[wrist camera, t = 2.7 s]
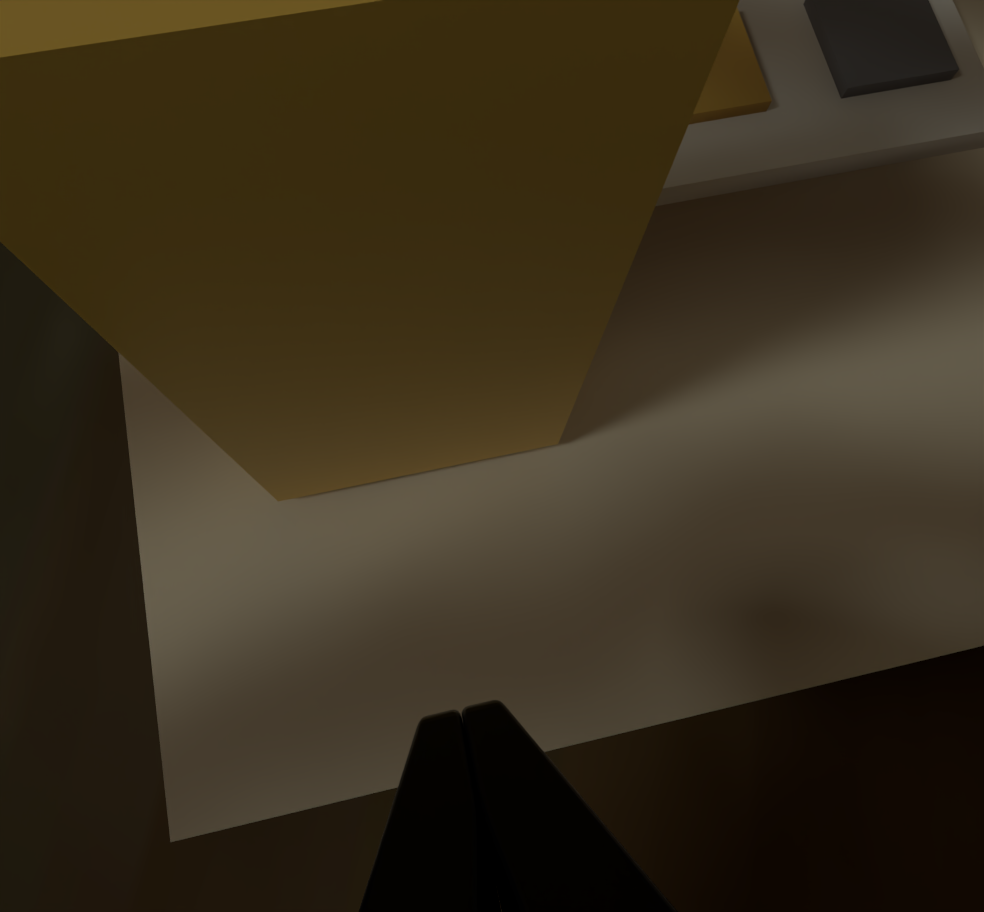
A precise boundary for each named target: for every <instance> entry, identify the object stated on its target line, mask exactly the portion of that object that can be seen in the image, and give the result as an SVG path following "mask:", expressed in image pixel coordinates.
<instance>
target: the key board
mask: <svg viewBox="0 0 984 912" xmlns="http://www.w3.org/2000/svg"><path fill="white" fill-rule="evenodd" d="M119 361H120V371H121V380H122V389H123V399H124V408H125V418H126V427H127V437H128V446H129V455H130V465H131V474H132V484H133V493H134V503H135V512H136V521H137V531H138V540H139V550H140V559H141V568H142V578H143V587H144V597H145V606H146V616H147V625H148V634H149V644H150V653H151V663H152V672H153V681H154V691H155V700H156V710H157V719H158V729H159V738H160V747H161V757H162V766H163V776H164V785H165V794H166V804H167V813H168V823H169V832H170V842H173V841H177V840H181V839H186V838H190V837H194V836H198V835H202V834H206V833H210V832H214V831H219V830H223V829H227V828H231V827H235V826H239V825H243V824H248V823H252V822H256V821H260V820H264V819H268V818H272V817H277V816H281V815H285V814H289V813H293V812H297V811H301V810H306V809H310V808H314V807H318V806H322V805H326V804H330V803H335V802H339V801H343V800H347V799H351V798H355V797H359V796H363V795H368V794H372V793H376V792H380V791H384V790H388V789H392V788H397V787H398V785H399V782H400V779H401V775H402V772H403V769H404V766H405V763H406V759H407V756H408V753H409V750H410V747H411V744H412V740H413V737H414V734H415V731H416V728H417V725H418V723H419V721H420V720H421V718H423V717H424V716H427V715H431V714H436V713H440V712H444V711H448V710H457V711H459V713H460V714H461V717H462V710H463V709H464V708H465V707H466V706H469V705H474V704H478V703H482V702H486V701H490V700H499V701H501V702H502V703H503V704H504V705H505V706H506V707H507V708H508V709H509V710H510V712H511V713H512V714H513V715H514V716H515V718H516V719H517V720H518V721H519V722H520V724H521V725H522V726H523V727H524V728H525V730H526V731H527V732H528V733H529V734H530V736H531V737H532V738H533V739H534V740H535V742H536V743H537V744H538V745H539V746H540V748H541V749H542V750H543V751H544V752H546V751H550V750H554V749H558V748H562V747H566V746H570V745H575V744H579V743H583V742H587V741H591V740H595V739H599V738H604V737H608V736H612V735H616V734H620V733H624V732H628V731H633V730H637V729H641V728H645V727H649V726H653V725H657V724H661V723H666V722H670V721H674V720H678V719H682V718H686V717H690V716H695V715H699V714H703V713H707V712H711V711H715V710H719V709H724V708H728V707H732V706H736V705H740V704H744V703H748V702H753V701H757V700H761V699H765V698H769V697H773V696H777V695H781V694H786V693H790V692H794V691H798V690H802V689H806V688H810V687H815V686H819V685H823V684H827V683H831V682H835V681H839V680H844V679H848V678H852V677H856V676H860V675H864V674H868V673H873V672H877V671H881V670H885V669H889V668H893V667H897V666H902V665H906V664H910V663H914V662H918V661H922V660H926V659H930V658H935V657H939V656H943V655H947V654H951V653H955V652H959V651H964V650H968V649H972V648H976V647H980V646H984V0H739V3H738V5H737V8H736V10H735V13H734V15H733V17H732V20H731V22H730V25H729V27H728V30H727V32H726V35H725V37H724V39H723V42H722V44H721V47H720V49H719V52H718V54H717V57H716V59H715V61H714V64H713V66H712V69H711V71H710V74H709V76H708V79H707V81H706V83H705V86H704V88H703V91H702V93H701V96H700V98H699V101H698V103H697V105H696V108H695V110H694V113H693V115H692V118H691V120H690V123H689V125H688V127H687V130H686V132H685V135H684V137H683V140H682V142H681V145H680V147H679V149H678V152H677V154H676V157H675V159H674V162H673V164H672V167H671V169H670V172H669V174H668V176H667V179H666V181H665V184H664V186H663V189H662V191H661V194H660V196H659V198H658V201H657V203H656V206H655V208H654V211H653V213H652V216H651V218H650V220H649V223H648V225H647V228H646V230H645V233H644V235H643V238H642V240H641V242H640V245H639V247H638V250H637V252H636V255H635V257H634V260H633V262H632V264H631V267H630V269H629V272H628V274H627V277H626V279H625V282H624V284H623V286H622V289H621V291H620V294H619V296H618V299H617V301H616V304H615V306H614V308H613V311H612V313H611V316H610V318H609V321H608V323H607V326H606V328H605V330H604V333H603V335H602V338H601V340H600V343H599V345H598V348H597V350H596V352H595V355H594V357H593V360H592V362H591V365H590V367H589V370H588V372H587V375H586V377H585V379H584V382H583V384H582V387H581V389H580V392H579V394H578V397H577V399H576V401H575V404H574V406H573V409H572V411H571V414H570V416H569V419H568V421H567V423H566V426H565V428H564V431H563V433H562V436H561V438H560V441H559V443H558V444H556V445H551V446H546V447H541V448H536V449H532V450H527V451H522V452H517V453H512V454H507V455H502V456H498V457H493V458H488V459H483V460H478V461H473V462H468V463H463V464H459V465H454V466H449V467H444V468H439V469H434V470H429V471H424V472H420V473H415V474H410V475H405V476H400V477H395V478H390V479H386V480H381V481H376V482H371V483H366V484H361V485H356V486H351V487H347V488H342V489H337V490H332V491H327V492H322V493H317V494H312V495H308V496H303V497H298V498H293V499H288V500H283V501H277V500H276V499H275V498H274V497H273V496H272V495H270V494H269V493H268V492H267V491H266V490H265V489H264V488H263V487H262V486H261V485H260V484H259V483H258V482H257V481H256V480H254V479H253V478H252V477H251V476H250V475H249V474H248V473H247V472H246V471H245V470H244V469H243V468H242V467H241V466H240V465H238V464H237V463H236V462H235V461H234V460H233V459H232V458H231V457H230V456H229V455H228V454H227V453H226V452H225V451H224V450H222V449H221V448H220V447H219V446H218V445H217V444H216V443H215V442H214V441H213V440H212V439H211V438H210V437H209V436H207V435H206V434H205V433H204V432H203V431H202V430H201V429H200V428H199V427H198V426H197V425H196V424H195V423H194V422H193V421H191V420H190V419H189V418H188V417H187V416H186V415H185V414H184V413H183V412H182V411H181V410H180V409H179V408H178V407H177V406H175V405H174V404H173V403H172V402H171V401H170V400H169V399H168V398H167V397H166V396H165V395H164V394H163V393H162V392H161V391H159V390H158V389H157V388H156V387H155V386H154V385H153V384H152V383H151V382H150V381H149V380H148V379H147V378H146V377H144V376H143V375H142V374H141V373H140V372H139V371H138V370H137V369H136V368H135V367H134V366H133V365H132V364H131V363H130V362H128V361H127V360H126V359H125V358H124V357H123V356H122V355H121V354H120V353H119ZM462 721H463V720H462Z"/></svg>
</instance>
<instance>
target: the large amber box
mask: <svg viewBox="0 0 984 912" xmlns="http://www.w3.org/2000/svg"><path fill="white" fill-rule="evenodd" d="M738 3H739V0H0V242H1V243H2V244H4V245H5V246H6V247H7V248H8V249H9V250H10V251H11V252H12V253H13V254H14V255H15V256H16V257H17V258H18V259H20V260H21V261H22V262H23V263H24V264H25V265H26V266H27V267H28V268H29V269H30V270H31V271H32V272H33V273H34V274H36V275H37V276H38V277H39V278H40V279H41V280H42V281H43V282H44V283H45V284H46V285H47V286H48V287H49V288H51V289H52V290H53V291H54V292H55V293H56V294H57V295H58V296H59V297H60V298H61V299H62V300H63V301H64V302H65V303H67V304H68V305H69V306H70V307H71V308H72V309H73V310H74V311H75V312H76V313H77V314H78V315H79V316H80V317H81V318H83V319H84V320H85V321H86V322H87V323H88V324H89V325H90V326H91V327H92V328H93V329H94V330H95V331H96V332H97V333H99V334H100V335H101V336H102V337H103V338H104V339H105V340H106V341H107V342H108V343H109V344H110V345H111V346H112V347H114V348H115V349H116V350H117V351H118V352H119V353H120V354H121V355H122V356H123V357H124V358H125V359H126V360H127V361H128V362H130V363H131V364H132V365H133V366H134V367H135V368H136V369H137V370H138V371H139V372H140V373H141V374H142V375H143V376H144V377H146V378H147V379H148V380H149V381H150V382H151V383H152V384H153V385H154V386H155V387H156V388H157V389H158V390H159V391H161V392H162V393H163V394H164V395H165V396H166V397H167V398H168V399H169V400H170V401H171V402H172V403H173V404H174V405H175V406H177V407H178V408H179V409H180V410H181V411H182V412H183V413H184V414H185V415H186V416H187V417H188V418H189V419H190V420H191V421H193V422H194V423H195V424H196V425H197V426H198V427H199V428H200V429H201V430H202V431H203V432H204V433H205V434H206V435H207V436H209V437H210V438H211V439H212V440H213V441H214V442H215V443H216V444H217V445H218V446H219V447H220V448H221V449H222V450H224V451H225V452H226V453H227V454H228V455H229V456H230V457H231V458H232V459H233V460H234V461H235V462H236V463H237V464H238V465H240V466H241V467H242V468H243V469H244V470H245V471H246V472H247V473H248V474H249V475H250V476H251V477H252V478H253V479H254V480H256V481H257V482H258V483H259V484H260V485H261V486H262V487H263V488H264V489H265V490H266V491H267V492H268V493H269V494H270V495H272V496H273V497H274V498H275V499H276V500H277V501H283V500H288V499H293V498H298V497H303V496H308V495H312V494H317V493H322V492H327V491H332V490H337V489H342V488H347V487H351V486H356V485H361V484H366V483H371V482H376V481H381V480H386V479H390V478H395V477H400V476H405V475H410V474H415V473H420V472H424V471H429V470H434V469H439V468H444V467H449V466H454V465H459V464H463V463H468V462H473V461H478V460H483V459H488V458H493V457H498V456H502V455H507V454H512V453H517V452H522V451H527V450H532V449H536V448H541V447H546V446H551V445H556V444H558V443H559V441H560V438H561V436H562V433H563V431H564V428H565V426H566V423H567V421H568V419H569V416H570V414H571V411H572V409H573V406H574V404H575V401H576V399H577V397H578V394H579V392H580V389H581V387H582V384H583V382H584V379H585V377H586V375H587V372H588V370H589V367H590V365H591V362H592V360H593V357H594V355H595V352H596V350H597V348H598V345H599V343H600V340H601V338H602V335H603V333H604V330H605V328H606V326H607V323H608V321H609V318H610V316H611V313H612V311H613V308H614V306H615V304H616V301H617V299H618V296H619V294H620V291H621V289H622V286H623V284H624V282H625V279H626V277H627V274H628V272H629V269H630V267H631V264H632V262H633V260H634V257H635V255H636V252H637V250H638V247H639V245H640V242H641V240H642V238H643V235H644V233H645V230H646V228H647V225H648V223H649V220H650V218H651V216H652V213H653V211H654V208H655V206H656V203H657V201H658V198H659V196H660V194H661V191H662V189H663V186H664V184H665V181H666V179H667V176H668V174H669V172H670V169H671V167H672V164H673V162H674V159H675V157H676V154H677V152H678V149H679V147H680V145H681V142H682V140H683V137H684V135H685V132H686V130H687V127H688V125H689V123H690V120H691V118H692V115H693V113H694V110H695V108H696V105H697V103H698V101H699V98H700V96H701V93H702V91H703V88H704V86H705V83H706V81H707V79H708V76H709V74H710V71H711V69H712V66H713V64H714V61H715V59H716V57H717V54H718V52H719V49H720V47H721V44H722V42H723V39H724V37H725V35H726V32H727V30H728V27H729V25H730V22H731V20H732V17H733V15H734V13H735V10H736V8H737V5H738Z"/></svg>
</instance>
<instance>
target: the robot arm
mask: <svg viewBox="0 0 984 912" xmlns="http://www.w3.org/2000/svg"><path fill="white" fill-rule="evenodd" d="M462 720H463V721H462ZM496 886H497V887H496ZM497 891H498V892H497ZM498 895H499V897H498ZM499 900H500V902H499ZM500 905H501V907H500ZM501 909H502V912H677V910H676V909H675V908H674V907H673V906H672V904H671V903H670V902H669V901H668V900H667V898H666V897H665V896H664V895H663V894H662V892H661V891H660V890H659V889H658V888H657V886H656V885H655V884H654V883H653V882H652V880H651V879H650V878H649V877H648V876H647V874H646V873H645V872H644V871H643V870H642V868H641V867H640V866H639V865H638V864H637V862H636V861H635V860H634V859H633V858H632V857H631V855H630V854H629V853H628V852H627V851H626V849H625V848H624V847H623V846H622V845H621V843H620V842H619V841H618V840H617V839H616V837H615V836H614V835H613V834H612V833H611V831H610V830H609V829H608V828H607V827H606V825H605V824H604V823H603V822H602V821H601V819H600V818H599V817H598V816H597V815H596V813H595V812H594V811H593V810H592V809H591V807H590V806H589V805H588V804H587V803H586V801H585V800H584V799H583V798H582V797H581V795H580V794H579V793H578V792H577V791H576V789H575V788H574V787H573V786H572V785H571V783H570V782H569V781H568V780H567V779H566V778H565V776H564V775H563V774H562V773H561V772H560V770H559V769H558V768H557V767H556V766H555V764H554V763H553V762H552V761H551V760H550V758H549V757H548V756H547V755H546V754H545V752H544V751H543V750H542V749H541V748H540V746H539V745H538V744H537V743H536V742H535V740H534V739H533V738H532V737H531V736H530V734H529V733H528V732H527V731H526V730H525V728H524V727H523V726H522V725H521V724H520V722H519V721H518V720H517V719H516V718H515V716H514V715H513V714H512V713H511V712H510V710H509V709H508V708H507V707H506V706H505V705H504V704H503V703H502V702H501V701H499V700H490V701H486V702H482V703H478V704H474V705H469V706H466V707H465V708H464V709H463V710H462V717H461V714H460V713H459V711H457V710H448V711H444V712H440V713H436V714H431V715H427V716H424V717H423V718H421V720H420V721H419V723H418V725H417V728H416V731H415V734H414V737H413V740H412V744H411V747H410V750H409V753H408V756H407V759H406V763H405V766H404V769H403V772H402V775H401V779H400V782H399V785H398V788H397V791H396V795H395V798H394V801H393V804H392V807H391V810H390V814H389V817H388V820H387V823H386V826H385V830H384V833H383V836H382V839H381V842H380V845H379V849H378V852H377V855H376V858H375V861H374V865H373V868H372V871H371V874H370V877H369V880H368V884H367V887H366V890H365V893H364V896H363V900H362V903H361V906H360V909H359V912H501Z"/></svg>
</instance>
